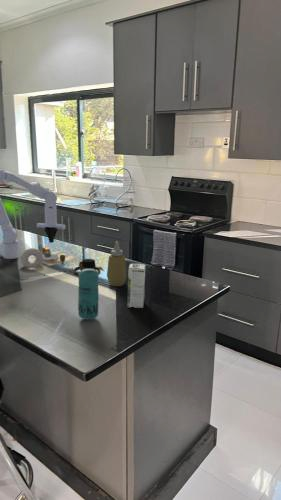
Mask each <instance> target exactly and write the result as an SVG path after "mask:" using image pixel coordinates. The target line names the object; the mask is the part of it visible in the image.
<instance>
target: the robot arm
mask: <svg viewBox="0 0 281 500" xmlns="http://www.w3.org/2000/svg"><path fill="white" fill-rule="evenodd" d="M4 182H5V183H15V184H16V185H18V186H21V187H22V188H25V189H27V190H28V192H29V194H31V195H32V196H34V197H36V198H38V199H41V200H44V222H38V223H36V228H42V229H43V228H44V232H45V233H46V236H47V238H48V243H52V244H53V243H54V241H55V237H56V235H57V232H58V230H65V229H66V224H61V223H58V218H57V217H58V216H57V215H58V214H57V211H58V210H57V200H58V196H57V194H56V193H55V192H54V191H53V190H50V188H46V187H44V186H42V185H41V183H40V182H38V183H37V182H32V183H30V182H29V181H27V180H25V179H24V178H22V177H20V176H18V175H16V174H15V173H13V172H10V171H8V170H4V169H2V168H0V185H2V184H3V183H4ZM0 227H1V228H0V229H1V231H2V239H3V240H2V242H1V243H0V257H3V259H6V260H7V259H8V260H12V259H18V258H19V257H20V251H19V250H20V249H19V248H20V247H19V240H18V237H17V235H18V232H17V230H16V228H15V227H14V226H13V225H12V223H11V221H10V218H9V214H8V213H7V210H6V208H5V206H4V202H3V201H2V199H1V197H0Z"/></svg>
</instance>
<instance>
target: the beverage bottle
mask: <svg viewBox="0 0 281 500" xmlns="http://www.w3.org/2000/svg"><path fill="white" fill-rule="evenodd" d="M82 267H83V268H94V267H96V259H92V258H84V259H82ZM99 274H100V273H98V272H97V270H95V269H83V270H80V271H79V274H78V289H77V290H78V297H77V298H78V301H77V303H78V304H77V305H78V307H77V311H78V317H79V318H81V319H84V320H93V319H95V318H97V317H98V316H99V310H100V309H99V297H100V296H99V293H100V291H99Z"/></svg>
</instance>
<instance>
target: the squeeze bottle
mask: <svg viewBox="0 0 281 500" xmlns="http://www.w3.org/2000/svg"><path fill="white" fill-rule="evenodd" d="M123 253H124V251H123V249H121V247H120V242H119V241H117V240H116V241H115V242H114V247H113V249H112V250H110V255H109V256H108V262H107V271H106V278H107V281H108V284H109V286H112V287H122V286H124V285H125V282H126V279H127V267H126V256H125V255H123Z"/></svg>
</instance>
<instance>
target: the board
mask: <svg viewBox="0 0 281 500" xmlns="http://www.w3.org/2000/svg"><path fill="white" fill-rule="evenodd" d="M44 252H45V246H44V247H41V253H42V254H44ZM51 254H57V255H58V259H56V260H52V261H43V262H42V264H45V265H46V266H49V267H50V266H55V265H56V266H57V265H60V264H62V261H60V255H65V261H63V262H64V264H65V263H70V262H71V263H72V262H75V261H80V260H81V258H80V259H79V258H77V257H76V256H73V255H69V254H67V253H63V252H60V251H54V252H51ZM29 258H30V259H32V260H34V261H35V260H36V257H35V256H33V255H32V256H29Z"/></svg>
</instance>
